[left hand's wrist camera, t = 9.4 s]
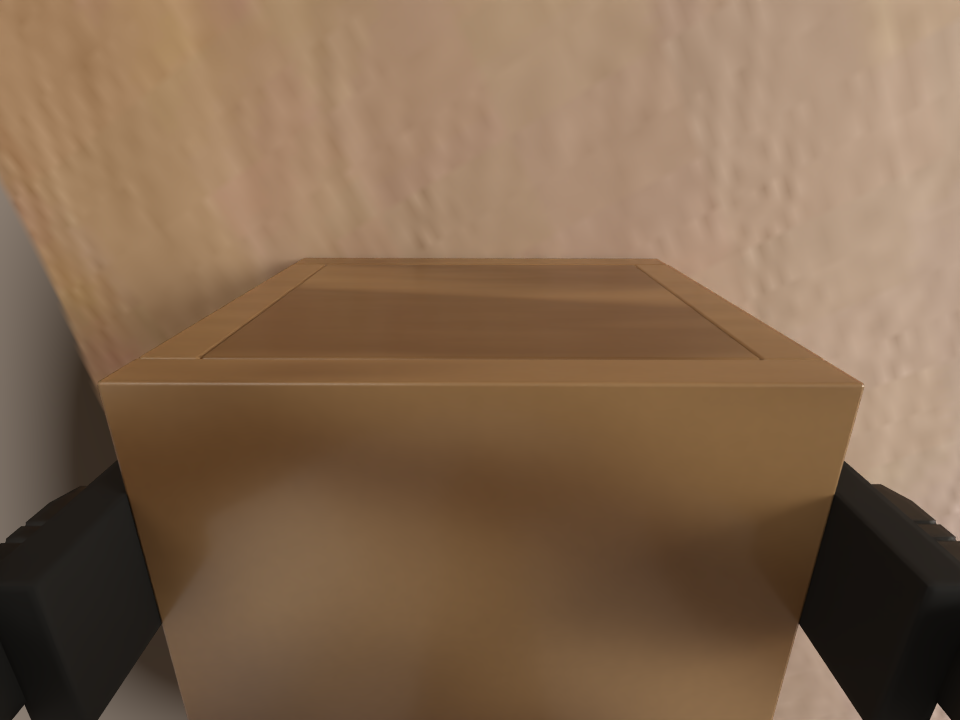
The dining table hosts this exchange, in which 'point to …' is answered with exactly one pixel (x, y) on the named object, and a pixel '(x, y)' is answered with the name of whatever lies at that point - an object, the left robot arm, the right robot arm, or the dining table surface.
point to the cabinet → (480, 493)
